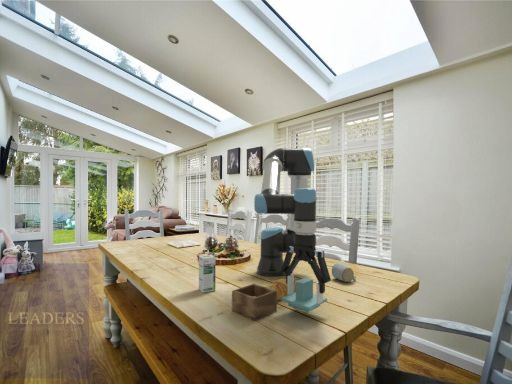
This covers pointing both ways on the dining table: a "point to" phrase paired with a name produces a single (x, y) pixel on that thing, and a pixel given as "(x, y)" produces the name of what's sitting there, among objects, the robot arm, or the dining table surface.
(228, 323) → the dining table surface
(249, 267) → the dining table surface
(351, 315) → the dining table surface
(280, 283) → the croissant
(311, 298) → the lid
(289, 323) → the dining table surface
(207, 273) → the syrup box
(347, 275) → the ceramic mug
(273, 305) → the box
